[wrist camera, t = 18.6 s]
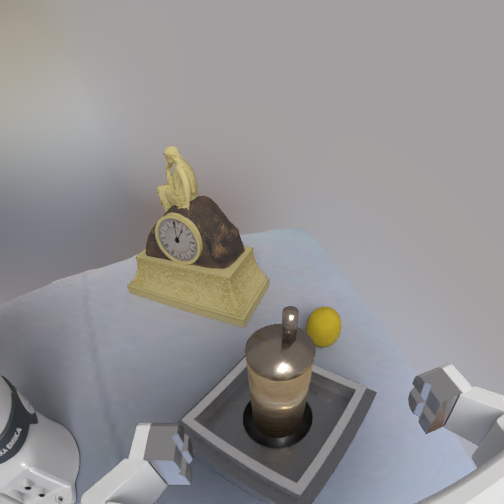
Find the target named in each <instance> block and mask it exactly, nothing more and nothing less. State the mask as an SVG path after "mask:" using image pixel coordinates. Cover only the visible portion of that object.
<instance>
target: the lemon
mask: <svg viewBox="0 0 504 504" xmlns="http://www.w3.org/2000/svg"><path fill="white" fill-rule="evenodd" d="M306 331H307V334H308V335H309V336H310V337H311V338H312V340H313V342H314V345H316V346H318V347H327V346H330V345H332V344H333V343H334V342H335V341H336V340H337V338H338V337H339V335H340V331H341V320H340V316H339V314H338V313H337V312H336V311H335V310H334V309H332V308H330V307H320V308H318V309H316V310H314V311H313V312H312V314H311V315H310V317H309V319H308V322H307V327H306Z"/></svg>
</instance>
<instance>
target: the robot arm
mask: <svg viewBox="0 0 504 504" xmlns="http://www.w3.org/2000/svg"><path fill="white" fill-rule="evenodd" d="M413 385H414V388H413V389H412V390H411V392H410V394H409V398H408V399H409V406H410V409H411V411H412V412H413V414H414V415H416V416H419V424H420V425H421V427H422V429H423V430H424V432H425V433H426V434H428V433H430V432H433V431H435V430H437V429H439V428H441V427H443V426H444V427H445V428H446V429H448V430H450V431H452V432H454V433H455V434H457V435H459V436H461V437H463V438H465V439H467V440H468V441H470V442H472V443H474V444H476V445H478V446H479V447H478V448H477V449H476V451H475V452H474V454H473V455H472V460H473V461H474V463H475V464H476V466H477V469H476V470H474V471H472V472H471V473H469V474H468V475H466V476H465V477H463V478H461V479H460V480H458V481H456V482H455V483H453V484H451V485H450V486H448V487H446V488H444V489H442V490H441V491H439V492H437V493H435V494H433V495H431V496H429V497H427V498H425V499H423V500H421V501H419V502H417V503H415V504H504V396H503V395H500V394H496V393H494V392H491V391H487V390H484V389H482V388H479V387H473V388H472V386H471V385H470V384H469V383H468V382H467V381H466V380H465V378H464V377H463V376H462V375H461V374H460V373H459V372H458V371H457V370H456V368H455V367H454V366H453V365H452V364H450V363H447V364H445V365H443V366H441V367H438V368H435V369H432V370H430V371H428V372H425V373H423V374H421V375H418V376H416V377H415V378H414V381H413ZM192 460H193V447H192V443H191V440H190V438H189V436H188V435H186V434H185V428H184V426H183V424H182V423H139V424H138V425H137V427H136V430H135V434H134V438H133V442H132V445H131V449H130V453H129V457H128V459H123V460H122V461H121V462H120V463H119V464H118V465H117V466H115V467H114V468H113V469H112V470H111V471H110V472H109V473H107V474H106V475H105V476H104V477H103V478H102V479H101V480H99V481H98V482H97V483H96V484H95V485H93V486H92V487H91V488H90V489H89V490H87V491H86V492H85V493H84V494H83V495H82V499H81V502H80V504H154V503H155V501H156V500H157V499H158V498H159V496H160V495H161V494H162V493H163V491H164V490H165V489H166V488H167V486H168V485H191V477H192V469H191V467H190V466H189V463H190V462H191V461H192ZM78 470H79V451H78V447H77V444H76V442H75V440H74V438H73V436H72V435H71V433H70V432H69V431H68V430H67V429H66V428H65V427H64V426H62V425H61V424H59V423H57V422H54V421H52V420H50V419H48V418H46V417H45V416H43V415H42V414H40V413H39V412H37V411H36V410H35V409H34V408H33V407H32V405H31V404H30V403H29V401H28V400H27V399H26V398H25V397H24V396H23V395H22V394H21V393H20V391H19V390H18V389H16V388H15V387H14V386H13V385H12V384H11V383H10V382H9V381H8V380H7V379H6V378H5V377H3V376H1V375H0V504H74V503H75V502H76V490H75V481H76V477H77V474H78ZM61 498H63V500H62V501H61Z"/></svg>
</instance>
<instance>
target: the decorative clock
mask: <svg viewBox="0 0 504 504" xmlns="http://www.w3.org/2000/svg"><path fill="white" fill-rule="evenodd" d="M164 155H165V157H166V160H167V162H168V164H167V165H166V175H167V181H168V184H164V185H161V186H158V188H157V191H158V194H159V199H160V201H161V205H162V206H163V207H164V210H165V214H164V216H163V217H162V218H160V219H159V221H158V222H157V223H156V224H155V226H154V227H153V229H152V230H151V232H150V234H149V236H148V240H147V245H146V249H145V250H144V251H142V252H141V253H140V254H139V255H137V256H136V260H137V263H138V270H137V273H136V276H135V278H134V279H133V280H132V281H131V283H130V284H129V285H128V289H129V292H130V293H132V294H135V295H138V296H141V297H144V298H147V299H150V300H153V301H156V302H159V303H162V304H165V305H168V306H171V307H175V308H178V309H181V310H184V311H188V312H191V313H194V314H198V315H201V316H204V317H208V318H211V319H215V320H218V321H222V322H225V323H229V324H233V325H236V326H240V327H245V326H246V324H247V322H248V321H249V319H250V317H251V316H252V314H253V312H254V311H255V309H256V307H257V306H258V304H259V302H260V300H261V299H262V297H263V295H264V294H265V292H266V290H267V289H268V287H269V278H266V275H265V274H264V273H263V272H262V271H261V270H260V269H259V267H258V265H257V263H256V261H255V258H254V254H253V248H252V247H246V246H243V243H242V241H241V238H240V235H239V230H238V229H237V228H236V227H235V226H234V225H233V224H232V223H231V222H230V221H229V220H228V219H227V217H226V216H225V215H224V213H223V212H222V211H221V209H220V208H219V207H218V206H217V204H216V203H215V202H214V201H213V200H211V199H210V198H208V197H206V196H199V197H197V182H196V178H195V175H194V172H193V170H192V168H191V166H190V164H189V163H188V162H187V161H186V160H185V159H184V158H183V157H182V156H181V155H180V152H179V150H178V148H176V147H175V146H169V147H167V148H166V149H165V150H164ZM172 163H174V164H175V166H174V170H173V174H172V175H171V172H170V168H171V167H172Z"/></svg>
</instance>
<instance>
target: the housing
mask: <svg viewBox="0 0 504 504" xmlns="http://www.w3.org/2000/svg"><path fill="white" fill-rule="evenodd" d="M376 393H377V392H375V391H372V390H370V389H367V386H364V385H361V384H359V383H356V382H354V381H352V380H349V379H347V378H344V377H342V376H339V375H337V374H335V373H332V372H330V371H328V370H325V369H323V368H321V367H318V366H316V365H314V364H313V368H312V373H311V379H310V384H309V390H308V395H307V400H306V405H305V410H304V414H303V419H302V423H301V426H300V427H299V429H298V430H297V431H296V432H295V433H293V434H292V435H290V436H287V437H284V438H271V437H267V436H265V435H263V434H262V433H261V432H259V431H258V429H257V428H256V426H255V424H254V420H253V412H252V404H251V396H250V387H249V379H248V370H247V362H246V355H245V356H244V357H243V358H242V359H241V361H240V362H239V363H238V364H237V365H236V366H235V367H234V368H233V369H232V370H231V371H230V372H229V373H228V374H227V375H226V376H225V377H224V378H223V379H222V380H221V381H220V382H219V383H218V384H217V385H216V386H215V387H214V388H213V389H212V390H211V391H210V392H209V393H208V394H206V395H205V396H204V397H203V398H202V399H201V400H200V401H199V402H198V403H197V404H196V405H195V406H194V407H193V408H192V409H191V410H190V411H189V412H188V413H187V414H185V415H184V416H183V417H182V418H181V419H180V420H179V421H178V422H177V423H182V424H183V426H184V428H185V434H186V435H188V436H189V438H190V440H191V443H192V447H193V456H194V457H196V458H197V459H198V460H200V461H201V462H202V463H204V464H205V465H206V466H208V467H209V468H211V469H212V470H213V471H215V472H216V473H218V474H219V475H221V476H222V477H224V478H225V479H226V480H228V481H229V482H231V483H233V484H234V485H236V486H237V487H239V488H240V489H242V490H244V491H245V492H247V493H248V494H250V495H252V496H254V497H255V498H257V499H259V500H260V501H262V502H264V503H266V504H312V502H313V501H314V500H315V498H316V497H317V495H318V494H319V493H320V491H321V490H322V488H323V487H324V485H325V484H326V482H327V481H328V479H329V478H330V476H331V475H332V473H333V472H334V470H335V469H336V467H337V465H338V464H339V462H340V461H341V459H342V457H343V456H344V454H345V452H346V451H347V449H348V447H349V445H350V444H351V442H352V440H353V438H354V437H355V435H356V433H357V431H358V429H359V427H360V425H361V424H362V422H363V420H364V418H365V416H366V414H367V412H368V410H369V408H370V406H371V404H372V402H373V400H374V398H375V395H376Z"/></svg>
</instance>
